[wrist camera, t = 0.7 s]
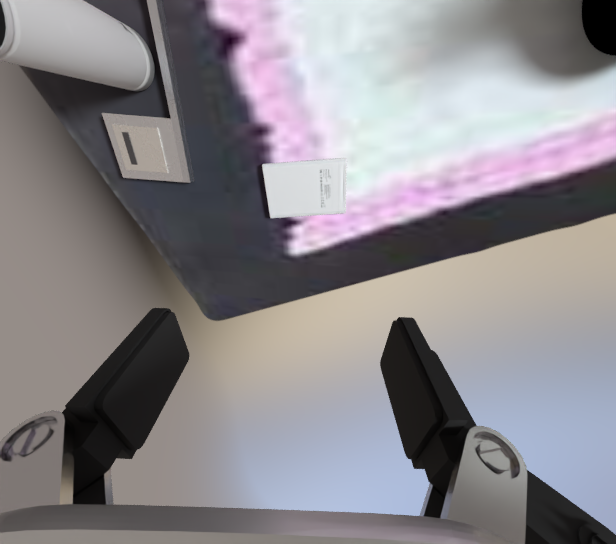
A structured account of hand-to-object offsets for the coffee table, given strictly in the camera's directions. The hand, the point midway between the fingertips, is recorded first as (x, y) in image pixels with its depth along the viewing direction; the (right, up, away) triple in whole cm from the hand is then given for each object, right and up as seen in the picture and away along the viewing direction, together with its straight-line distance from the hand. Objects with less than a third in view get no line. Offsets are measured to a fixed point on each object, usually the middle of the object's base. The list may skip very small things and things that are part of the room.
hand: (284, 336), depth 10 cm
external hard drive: (+1, +16, +27) cm, 31 cm away
